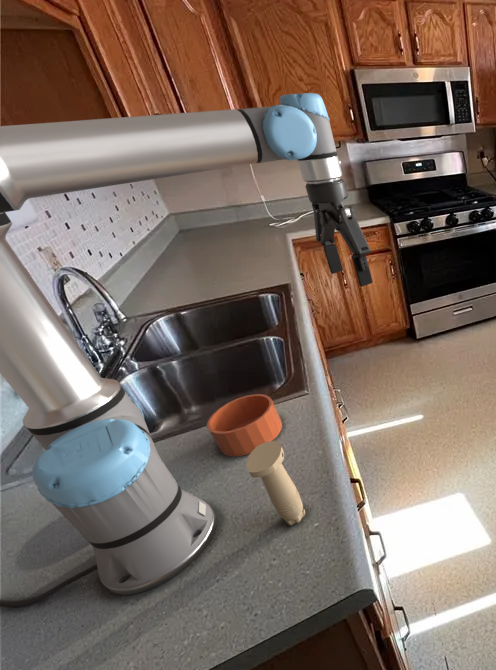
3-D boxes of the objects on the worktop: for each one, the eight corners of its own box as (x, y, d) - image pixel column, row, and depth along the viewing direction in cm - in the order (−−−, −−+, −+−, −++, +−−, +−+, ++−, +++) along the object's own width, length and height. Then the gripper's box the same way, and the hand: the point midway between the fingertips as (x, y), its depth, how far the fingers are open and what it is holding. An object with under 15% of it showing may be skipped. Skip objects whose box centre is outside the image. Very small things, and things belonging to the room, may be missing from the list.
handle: (312, 498, 75) (283, 437, 68) (309, 528, 70) (277, 466, 62) (283, 507, 74) (251, 446, 67) (278, 538, 68) (242, 476, 61)
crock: (230, 466, 83) (216, 442, 80) (213, 438, 91) (200, 416, 88) (290, 431, 91) (280, 409, 88) (270, 408, 99) (260, 387, 95)
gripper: (372, 180, 78) (395, 284, 88) (315, 174, 94) (340, 262, 104) (335, 188, 73) (363, 296, 83) (281, 180, 89) (311, 272, 99)
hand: (351, 278), depth 94 cm, fingers open, 13 cm apart
